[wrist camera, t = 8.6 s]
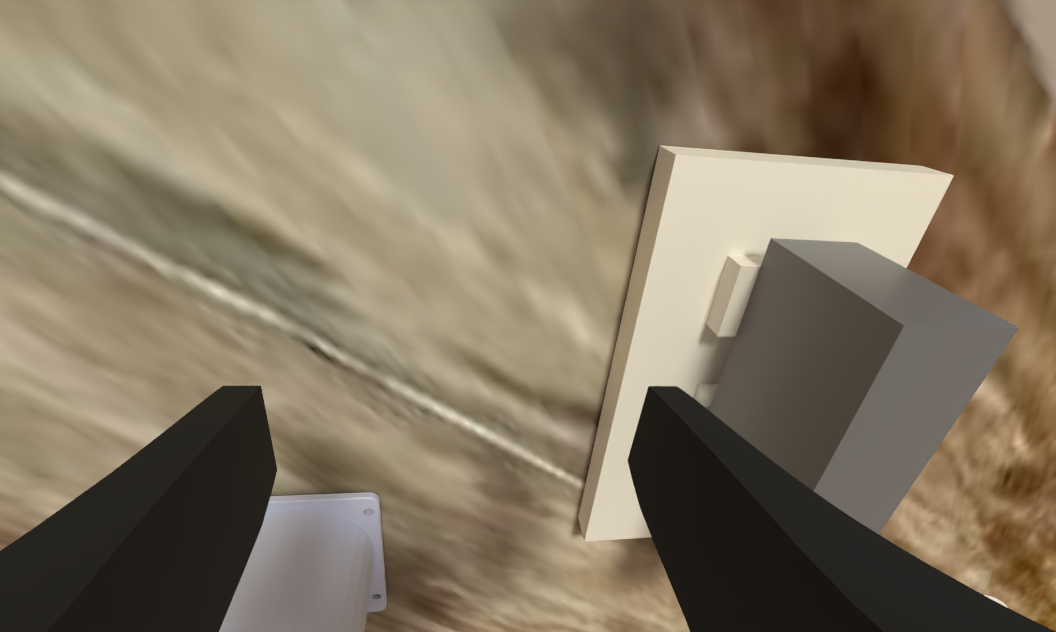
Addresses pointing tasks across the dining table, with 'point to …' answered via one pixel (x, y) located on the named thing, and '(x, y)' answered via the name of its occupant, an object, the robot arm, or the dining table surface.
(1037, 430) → the dining table surface
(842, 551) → the robot arm
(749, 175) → the plate
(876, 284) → the matte grey box
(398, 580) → the dining table surface
